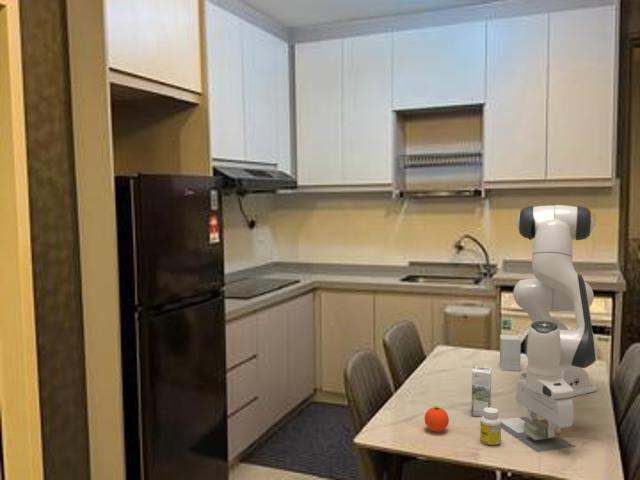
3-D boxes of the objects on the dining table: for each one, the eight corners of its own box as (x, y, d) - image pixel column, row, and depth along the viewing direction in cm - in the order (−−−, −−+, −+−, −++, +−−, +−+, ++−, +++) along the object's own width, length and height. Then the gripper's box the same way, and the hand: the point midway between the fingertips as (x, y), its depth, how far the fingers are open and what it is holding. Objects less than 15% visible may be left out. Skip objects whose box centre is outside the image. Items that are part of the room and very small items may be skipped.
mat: (525, 418, 175) (525, 416, 175) (575, 448, 154) (575, 446, 154) (490, 423, 172) (490, 420, 172) (537, 454, 151) (537, 451, 151)
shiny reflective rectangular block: (548, 429, 162) (548, 418, 162) (560, 436, 157) (560, 425, 157) (524, 432, 160) (524, 422, 160) (535, 440, 155) (535, 429, 155)
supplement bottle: (477, 441, 159) (477, 406, 159) (496, 440, 160) (496, 405, 159) (484, 449, 154) (485, 413, 153) (504, 448, 154) (504, 413, 154)
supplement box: (518, 366, 230) (519, 335, 229) (520, 371, 223) (521, 339, 222) (499, 365, 232) (499, 334, 231) (500, 370, 225) (501, 338, 224)
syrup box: (491, 412, 181) (491, 366, 180) (490, 418, 175) (490, 372, 174) (472, 410, 183) (473, 365, 182) (470, 416, 177) (471, 370, 176)
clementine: (422, 424, 171) (422, 401, 171) (445, 424, 171) (445, 401, 171) (426, 435, 163) (426, 411, 163) (450, 435, 163) (451, 411, 163)
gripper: (510, 371, 166) (510, 417, 168) (557, 395, 147) (556, 447, 148) (529, 369, 168) (528, 415, 169) (578, 392, 148) (577, 444, 150)
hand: (542, 430), depth 158 cm, fingers closed on shiny reflective rectangular block, 5 cm apart
